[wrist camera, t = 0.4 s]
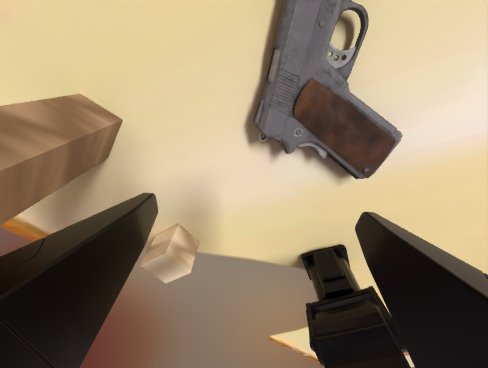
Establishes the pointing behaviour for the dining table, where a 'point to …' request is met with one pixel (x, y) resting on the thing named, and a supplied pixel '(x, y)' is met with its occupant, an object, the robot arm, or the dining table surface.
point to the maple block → (171, 254)
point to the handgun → (321, 91)
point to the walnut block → (49, 147)
